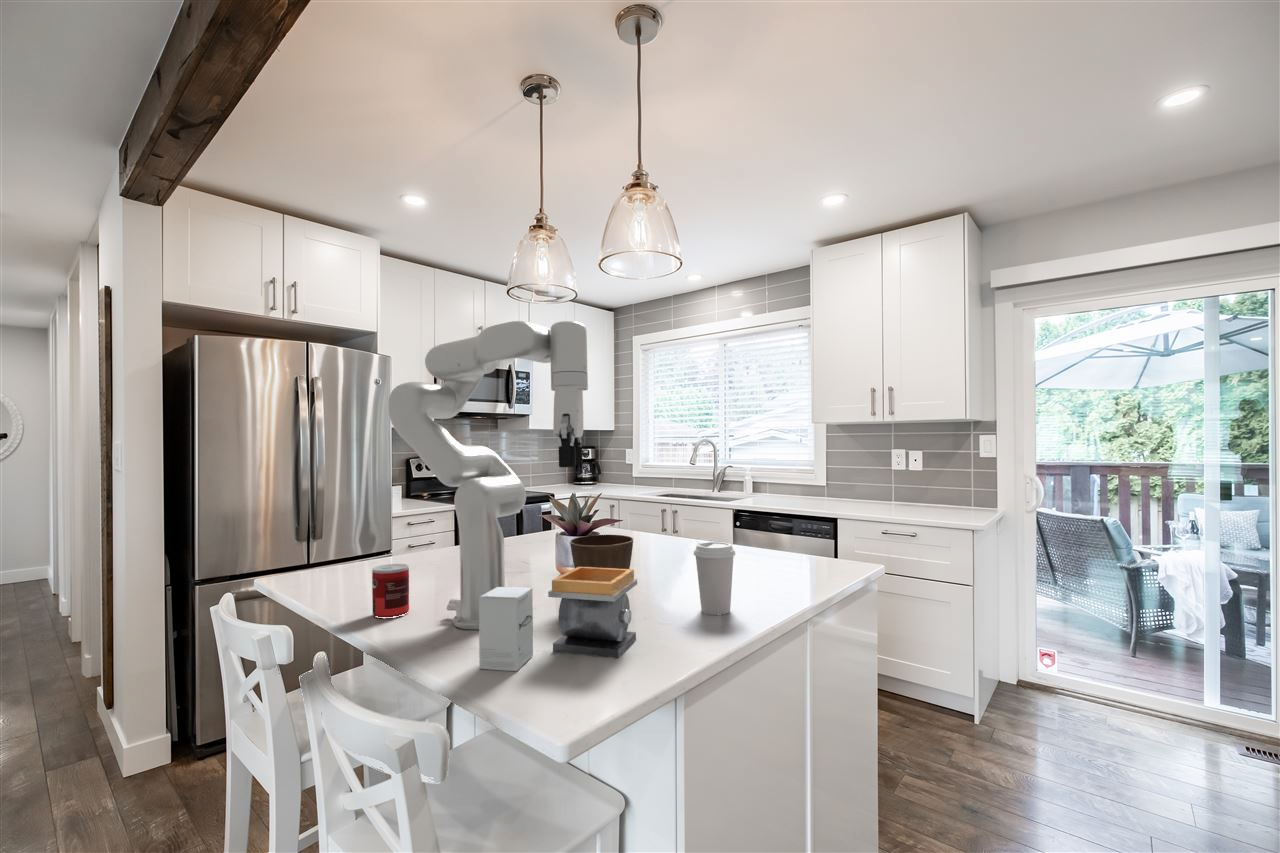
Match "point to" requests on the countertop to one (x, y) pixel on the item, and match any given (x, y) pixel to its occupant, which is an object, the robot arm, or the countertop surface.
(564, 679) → the countertop surface
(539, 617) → the countertop surface
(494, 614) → the supplement box
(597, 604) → the tray on grey cylinder
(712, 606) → the coffee cup
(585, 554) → the plant pot
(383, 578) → the canned food
